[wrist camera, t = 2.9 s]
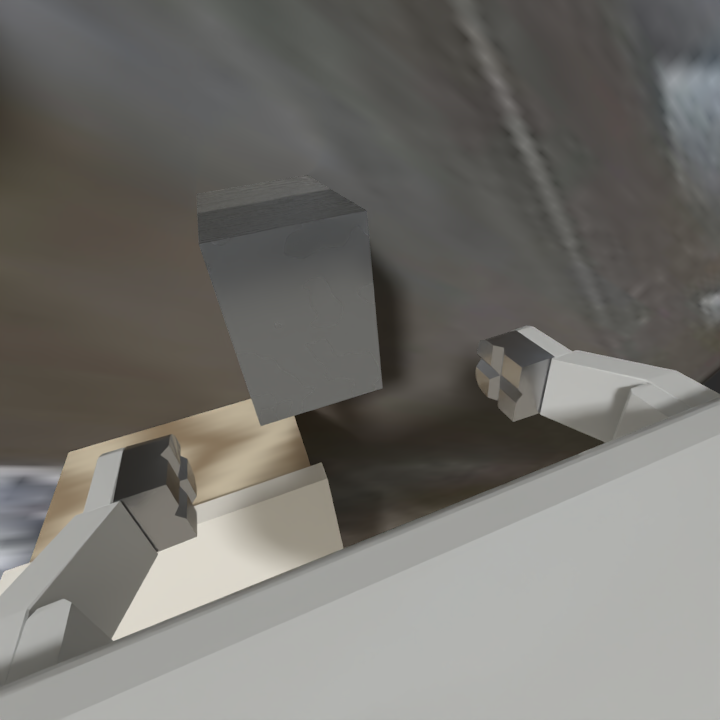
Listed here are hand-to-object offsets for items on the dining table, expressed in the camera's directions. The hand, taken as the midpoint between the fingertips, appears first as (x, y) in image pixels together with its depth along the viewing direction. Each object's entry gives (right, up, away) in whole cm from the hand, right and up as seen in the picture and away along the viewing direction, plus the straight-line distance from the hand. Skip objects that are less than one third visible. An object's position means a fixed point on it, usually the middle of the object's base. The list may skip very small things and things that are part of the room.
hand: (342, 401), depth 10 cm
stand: (-9, -7, +16) cm, 20 cm away
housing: (-4, +6, +10) cm, 12 cm away
